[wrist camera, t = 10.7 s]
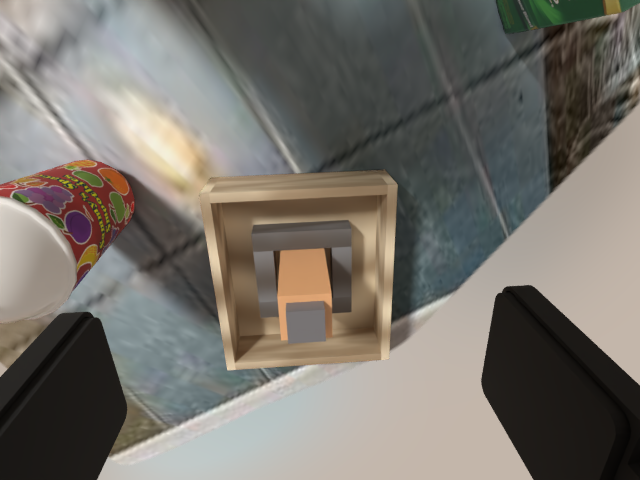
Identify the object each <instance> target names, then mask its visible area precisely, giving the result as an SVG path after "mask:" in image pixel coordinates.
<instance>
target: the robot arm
mask: <svg viewBox="0 0 640 480" xmlns="http://www.w3.org/2000/svg"><path fill="white" fill-rule="evenodd" d="M481 380H482V381H481V382H482V388H483V392H484V394H485V396H486V398H487V400H488V401H489V403H490V405H491V407H492V408H493V410H494V412H495V414H496V415H497V417H498V419H499V421H500V422H501V424H502V426H503V427H504V429H505V431H506V433H507V434H508V436H509V438H510V440H511V441H512V443H513V445H514V447H515V448H516V450H517V452H518V454H519V455H520V457H521V459H522V460H523V462H524V464H525V466H526V467H527V469H528V471H529V473H530V474H531V476H532V478H533V479H534V480H640V385H639V384H638V383H637V382H635V381H634V380H633V379H632V378H631V377H630V376H629V375H628V374H627V373H626V372H625V371H624V370H622V369H621V368H620V367H619V366H618V365H617V364H616V363H615V362H614V361H613V360H612V359H611V358H610V357H609V356H608V355H606V354H605V353H604V352H603V351H602V350H601V349H600V348H599V347H598V346H597V345H596V344H595V343H594V342H593V341H591V340H590V339H589V338H588V337H587V336H586V335H585V334H584V333H583V332H582V331H581V330H580V329H579V328H578V327H576V326H575V325H574V324H573V323H572V322H571V321H570V320H569V319H568V318H567V317H565V315H564V314H563V313H561V312H560V311H559V310H558V309H557V308H556V307H555V306H554V305H553V304H552V303H551V302H550V301H549V300H548V299H546V298H545V297H544V296H543V295H542V294H541V293H540V292H539V291H538V290H537V289H536V288H535V287H533V286H531V285H525V286H509V287H505V288H504V289H503V291H502V293H498V294H497V296H496V298H495V303H494V309H493V315H492V321H491V326H490V332H489V338H488V344H487V350H486V356H485V361H484V367H483V373H482V379H481ZM126 414H127V404H126V400H125V397H124V394H123V390H122V387H121V384H120V381H119V377H118V374H117V371H116V368H115V364H114V361H113V358H112V355H111V352H110V348H109V345H108V342H107V339H106V335H105V332H104V329H103V326H102V323H101V320H100V319H99V318H94V317H93V315H92V314H91V313H90V312H75V313H62V314H60V315H58V316H57V317H56V318H55V319H54V320H53V321H52V322H51V323H50V324H49V325H48V327H47V328H46V329H45V330H44V331H43V332H42V333H41V334H40V335H39V336H38V337H37V338H36V339H35V340H34V342H33V343H32V344H31V345H30V346H29V347H28V348H27V349H26V350H25V351H24V352H23V353H22V354H21V355H20V357H19V358H18V359H17V360H16V361H15V362H14V363H13V364H12V365H11V366H10V367H9V368H8V369H7V370H6V372H5V373H4V374H3V375H2V376H1V377H0V480H97V478H98V476H99V474H100V472H101V470H102V468H103V466H104V463H105V462H106V459H107V457H108V455H109V453H110V451H111V449H112V447H113V445H114V442H115V440H116V438H117V436H118V434H119V432H120V430H121V428H122V426H123V423H124V421H125V419H126Z"/></svg>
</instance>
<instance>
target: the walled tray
mask: <svg viewBox="0 0 640 480" xmlns="http://www.w3.org/2000/svg"><path fill="white" fill-rule="evenodd" d="M397 187H398V184H397V183H396V182H395V181H394V180H393V179H392V177H391V176H390V175H389V174H388V173H387V172H386V170H364V171H343V172H321V173H300V174H279V175H257V176H236V177H215V178H210V179H209V181H208V182H207V184H206V185H205V186H204V188H203V189H202V191H201V192H200V193H199V198H200V204H201V211H202V217H203V223H204V229H205V235H206V241H207V247H208V253H209V260H210V266H211V272H212V278H213V284H214V290H215V296H216V303H217V309H218V315H219V321H220V327H221V333H222V339H223V346H224V352H225V358H226V364H227V370H238V369H253V368H268V367H283V366H298V365H313V364H328V363H343V362H358V361H372V360H387V359H389V350H390V330H391V309H392V289H393V268H394V248H395V227H396V207H397ZM318 248H324V250H325V257H326V263H327V269H328V275H329V281H330V287H331V293H332V335H333V337H330V338H326V341H324V342H309V343H293V344H288V340H283V341H281V333H280V322H279V310H278V299H277V294H278V279H279V265H280V251H282V250H300V249H318Z"/></svg>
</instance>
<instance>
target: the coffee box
mask: <svg viewBox="0 0 640 480" xmlns="http://www.w3.org/2000/svg"><path fill="white" fill-rule="evenodd" d="M496 3H497V7H498V12H499V14H500V18H501V20H502V23H503V27H504V31H505V34H509V33H518V32H523V31H527V30H535V29H540V28H544V27H549V26H555V25H560V24H566V23H571V22H576V21H581V20H586V19H591V18H596V17H601V16H606V15H611V14H617V13H621V12H624V11H626V10H628V9H629V8H631V7H633V6H635V5H637V4H638V3H640V0H496Z"/></svg>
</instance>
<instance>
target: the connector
mask: <svg viewBox="0 0 640 480" xmlns="http://www.w3.org/2000/svg"><path fill="white" fill-rule="evenodd" d="M277 299H278V310H279V322H280V333H281V341H283V340H288V344H293V343H309V342H324V341H326V338H330V337H333V335H332V293H331V287H330V281H329V275H328V269H327V263H326V257H325V250H324V248H318V249H300V250H282V251H280V265H279V279H278V294H277Z"/></svg>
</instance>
